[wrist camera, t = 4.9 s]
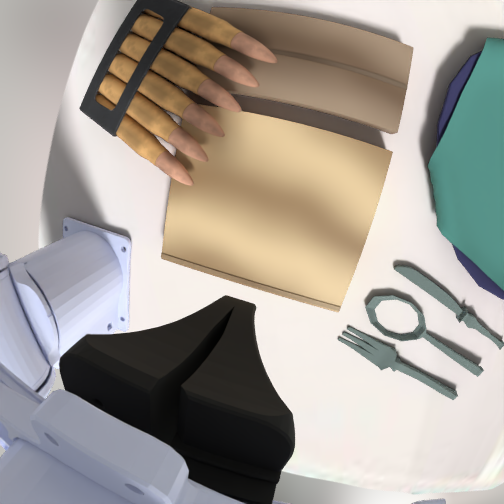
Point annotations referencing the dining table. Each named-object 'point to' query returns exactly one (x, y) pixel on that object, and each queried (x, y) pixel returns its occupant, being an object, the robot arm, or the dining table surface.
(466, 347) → the dining table surface
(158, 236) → the dining table surface
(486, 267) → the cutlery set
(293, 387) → the dining table surface
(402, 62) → the floor row
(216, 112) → the plank
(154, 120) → the ammunition clip
